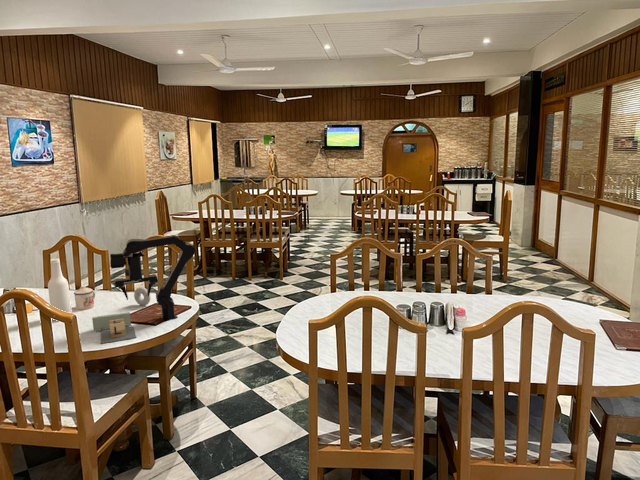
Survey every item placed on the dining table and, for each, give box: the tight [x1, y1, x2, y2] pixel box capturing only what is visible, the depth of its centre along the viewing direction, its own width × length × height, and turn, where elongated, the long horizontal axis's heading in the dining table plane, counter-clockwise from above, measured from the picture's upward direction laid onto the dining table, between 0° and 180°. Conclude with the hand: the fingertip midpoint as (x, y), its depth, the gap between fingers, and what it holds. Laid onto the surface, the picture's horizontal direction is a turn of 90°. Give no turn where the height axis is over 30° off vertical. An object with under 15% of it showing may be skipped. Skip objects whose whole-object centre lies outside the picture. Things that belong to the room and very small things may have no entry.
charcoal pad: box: [100, 326, 137, 345], centre depth 213 cm, size 14×14×1 cm
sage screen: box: [91, 311, 132, 333], centre depth 222 cm, size 6×16×6 cm, turn 115°
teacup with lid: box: [73, 285, 96, 311], centre depth 252 cm, size 12×9×12 cm
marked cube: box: [109, 318, 126, 338], centre depth 212 cm, size 6×6×6 cm
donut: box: [133, 286, 151, 307], centre depth 252 cm, size 10×4×10 cm, turn 66°
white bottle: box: [47, 257, 73, 314], centre depth 234 cm, size 9×9×30 cm
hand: (137, 298), depth 227 cm, fingers open, 9 cm apart
